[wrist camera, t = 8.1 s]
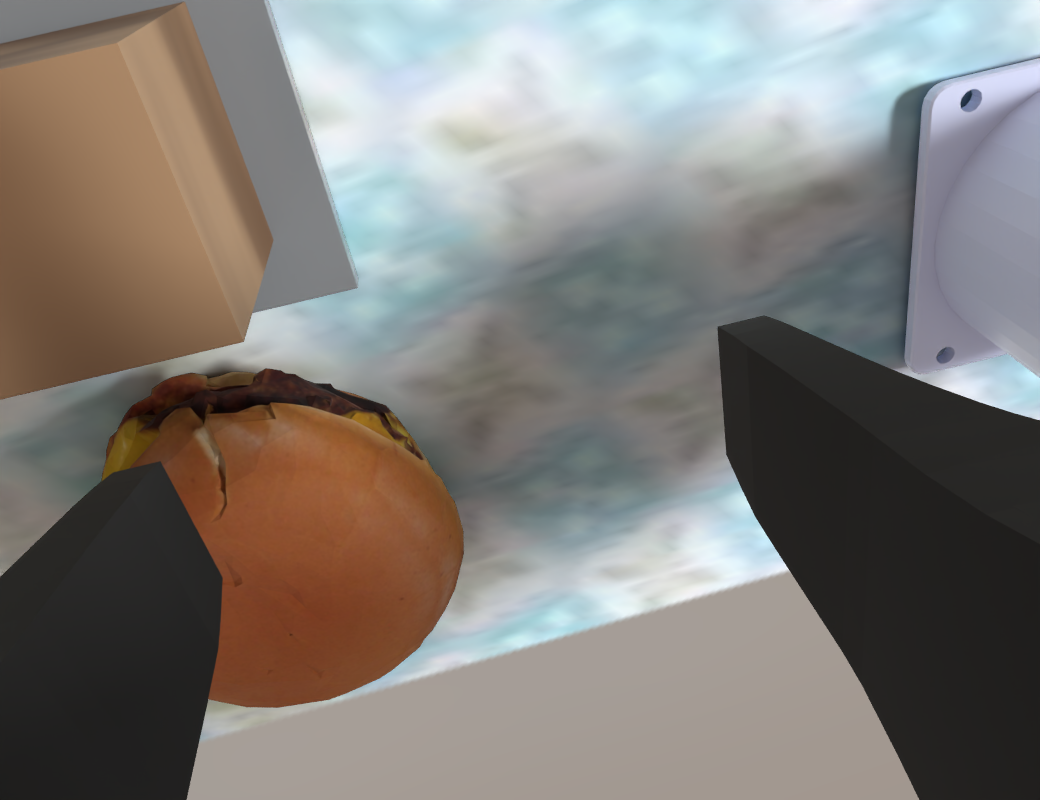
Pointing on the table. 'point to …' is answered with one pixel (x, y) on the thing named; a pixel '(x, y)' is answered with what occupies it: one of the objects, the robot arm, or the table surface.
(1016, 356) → the robot arm
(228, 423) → the burger
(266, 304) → the slate coaster
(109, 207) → the walnut cube
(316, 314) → the table surface
